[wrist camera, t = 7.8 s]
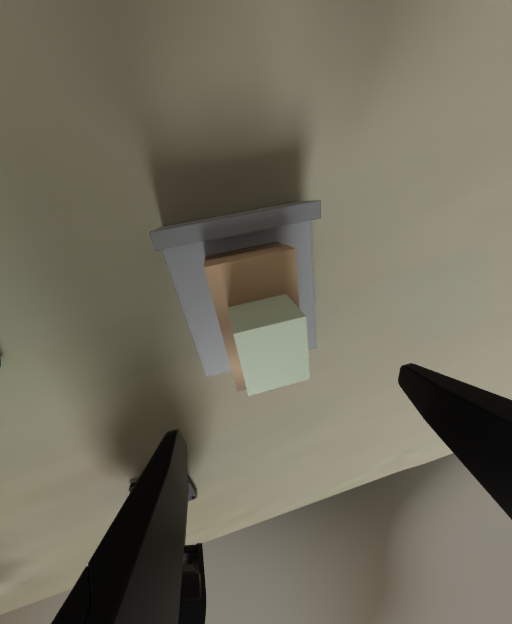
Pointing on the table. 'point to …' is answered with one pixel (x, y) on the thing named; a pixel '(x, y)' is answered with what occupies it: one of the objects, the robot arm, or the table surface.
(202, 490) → the table surface
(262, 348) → the pale green block
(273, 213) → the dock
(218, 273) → the brown cardboard box
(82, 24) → the table surface
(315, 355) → the table surface
